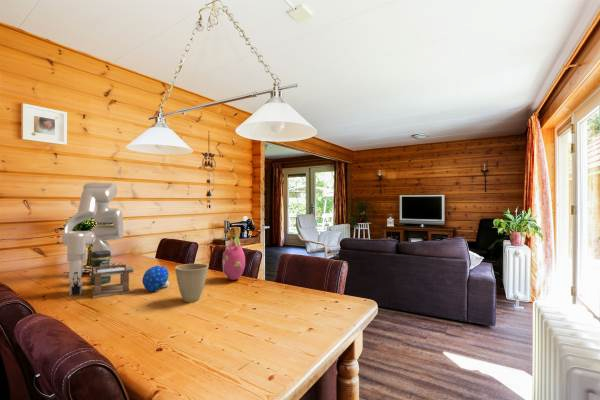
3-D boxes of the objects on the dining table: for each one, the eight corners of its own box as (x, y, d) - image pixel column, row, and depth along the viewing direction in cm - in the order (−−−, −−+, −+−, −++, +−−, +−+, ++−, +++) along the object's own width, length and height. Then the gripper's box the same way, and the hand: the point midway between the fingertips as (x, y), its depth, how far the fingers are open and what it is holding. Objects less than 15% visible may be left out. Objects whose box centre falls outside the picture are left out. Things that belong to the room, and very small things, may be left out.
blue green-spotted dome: (181, 271, 170) (162, 259, 160) (173, 296, 162) (152, 284, 151) (162, 274, 175) (142, 262, 165) (153, 298, 166) (131, 287, 156)
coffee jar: (94, 285, 169) (95, 252, 169) (88, 283, 173) (88, 251, 173) (113, 282, 177) (113, 250, 177) (106, 280, 182) (106, 248, 182)
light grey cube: (70, 293, 156) (70, 283, 156) (82, 291, 159) (82, 282, 159) (69, 295, 152) (69, 285, 152) (82, 294, 154) (82, 284, 154)
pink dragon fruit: (219, 277, 190) (219, 229, 190) (240, 275, 195) (241, 228, 195) (225, 284, 173) (225, 231, 174) (248, 282, 179) (248, 230, 179)
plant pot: (197, 306, 138) (197, 270, 138) (168, 303, 141) (168, 269, 141) (213, 296, 153) (213, 264, 153) (186, 294, 156) (186, 262, 156)
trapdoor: (97, 272, 162) (97, 269, 162) (131, 268, 171) (131, 265, 171) (97, 277, 152) (98, 273, 152) (133, 273, 161) (133, 270, 161)
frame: (92, 288, 164) (92, 266, 164) (126, 284, 173) (126, 263, 173) (93, 298, 148) (93, 274, 148) (130, 292, 157) (130, 270, 157)
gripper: (68, 255, 160) (67, 289, 160) (66, 260, 146) (65, 298, 146) (85, 254, 164) (85, 287, 164) (85, 259, 150) (84, 295, 150)
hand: (76, 292), depth 155 cm, fingers open, 6 cm apart
